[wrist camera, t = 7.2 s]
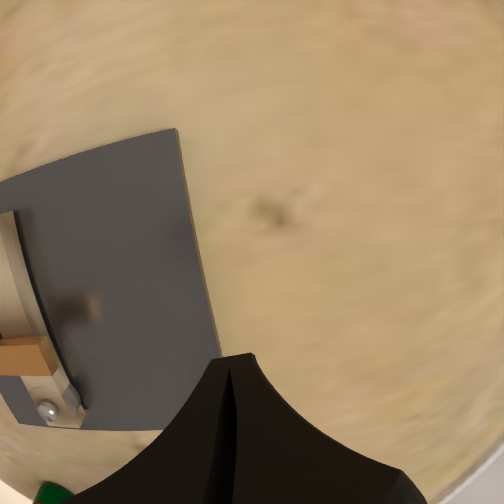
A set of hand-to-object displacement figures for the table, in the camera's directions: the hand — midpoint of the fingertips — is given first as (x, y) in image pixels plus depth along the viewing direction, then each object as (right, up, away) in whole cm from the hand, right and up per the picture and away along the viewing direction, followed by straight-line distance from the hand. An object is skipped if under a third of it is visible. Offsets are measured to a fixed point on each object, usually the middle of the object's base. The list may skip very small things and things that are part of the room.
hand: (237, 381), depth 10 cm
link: (-14, -1, +7) cm, 16 cm away
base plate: (-12, 0, +9) cm, 15 cm away
